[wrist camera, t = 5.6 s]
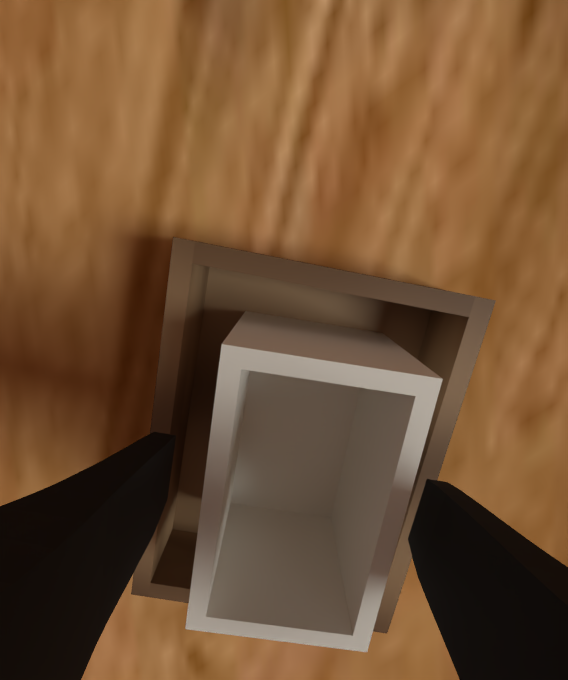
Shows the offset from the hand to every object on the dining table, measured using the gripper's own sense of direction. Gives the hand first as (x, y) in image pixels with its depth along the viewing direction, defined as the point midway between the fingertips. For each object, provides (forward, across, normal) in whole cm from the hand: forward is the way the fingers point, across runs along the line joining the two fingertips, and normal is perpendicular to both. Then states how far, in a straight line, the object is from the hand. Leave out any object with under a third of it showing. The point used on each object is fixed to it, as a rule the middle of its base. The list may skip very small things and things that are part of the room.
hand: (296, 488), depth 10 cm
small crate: (+4, 0, 0) cm, 4 cm away
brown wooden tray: (+4, 0, 0) cm, 4 cm away
